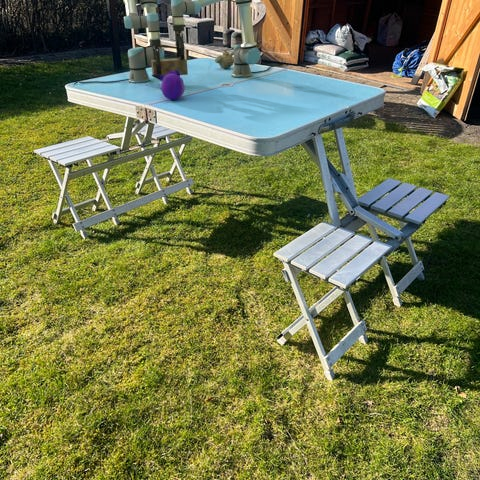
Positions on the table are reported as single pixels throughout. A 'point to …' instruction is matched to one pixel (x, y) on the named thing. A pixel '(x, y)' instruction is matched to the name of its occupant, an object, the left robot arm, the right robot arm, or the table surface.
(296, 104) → the table surface
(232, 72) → the right robot arm
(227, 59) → the teapot
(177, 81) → the toy
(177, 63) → the box
